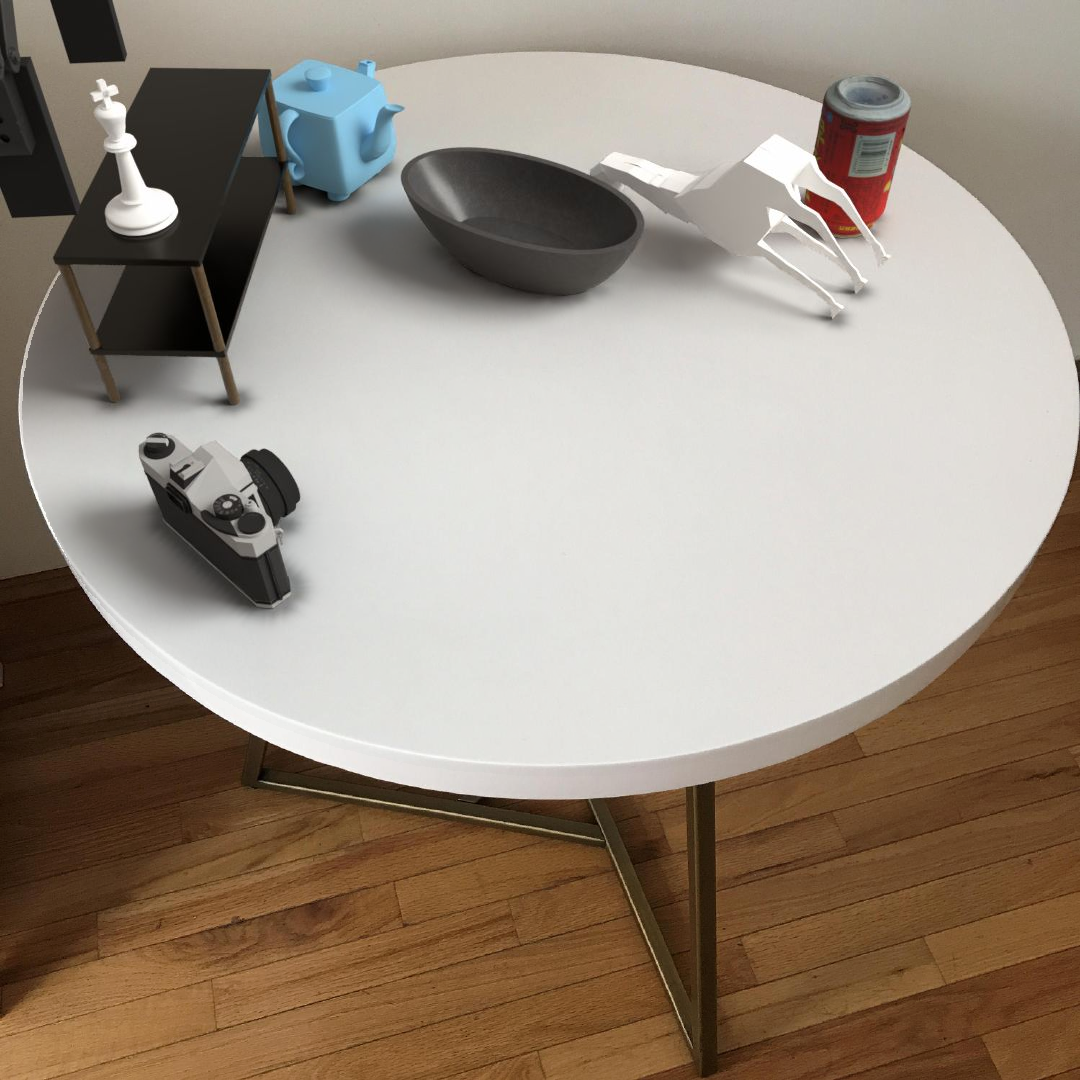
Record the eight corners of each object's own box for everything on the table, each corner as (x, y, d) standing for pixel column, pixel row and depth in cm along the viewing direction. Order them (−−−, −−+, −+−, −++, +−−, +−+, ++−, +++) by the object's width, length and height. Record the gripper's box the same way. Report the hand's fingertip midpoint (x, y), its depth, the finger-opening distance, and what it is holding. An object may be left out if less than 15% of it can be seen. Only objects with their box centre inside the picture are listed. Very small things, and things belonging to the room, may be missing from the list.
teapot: (217, 180, 108) (192, 77, 100) (311, 112, 116) (293, 12, 108) (373, 237, 102) (358, 133, 94) (460, 162, 110) (454, 59, 102)
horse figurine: (805, 352, 105) (600, 174, 107) (909, 235, 91) (671, 32, 93) (778, 382, 102) (568, 199, 104) (880, 266, 88) (636, 56, 90)
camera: (356, 553, 79) (332, 454, 72) (267, 622, 75) (233, 524, 68) (237, 473, 85) (205, 375, 78) (149, 532, 81) (108, 435, 75)
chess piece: (94, 214, 82) (47, 78, 74) (156, 187, 84) (117, 54, 76) (127, 245, 79) (82, 109, 71) (191, 217, 81) (154, 82, 74)
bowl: (600, 341, 93) (603, 278, 88) (376, 259, 100) (367, 196, 95) (667, 262, 99) (673, 199, 95) (452, 190, 107) (448, 128, 102)
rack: (238, 405, 88) (198, 260, 78) (109, 402, 88) (52, 257, 78) (297, 209, 105) (270, 68, 95) (188, 207, 105) (150, 67, 95)
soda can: (896, 232, 102) (931, 102, 93) (825, 249, 100) (853, 118, 91) (855, 190, 106) (884, 61, 97) (787, 206, 105) (809, 77, 96)
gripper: (-110, -398, 30) (116, 288, 45) (66, -533, 46) (187, 6, 62) (-418, -393, 29) (-80, 298, 45) (-129, -531, 45) (44, 11, 61)
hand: (75, 129), depth 53 cm, fingers open, 13 cm apart
